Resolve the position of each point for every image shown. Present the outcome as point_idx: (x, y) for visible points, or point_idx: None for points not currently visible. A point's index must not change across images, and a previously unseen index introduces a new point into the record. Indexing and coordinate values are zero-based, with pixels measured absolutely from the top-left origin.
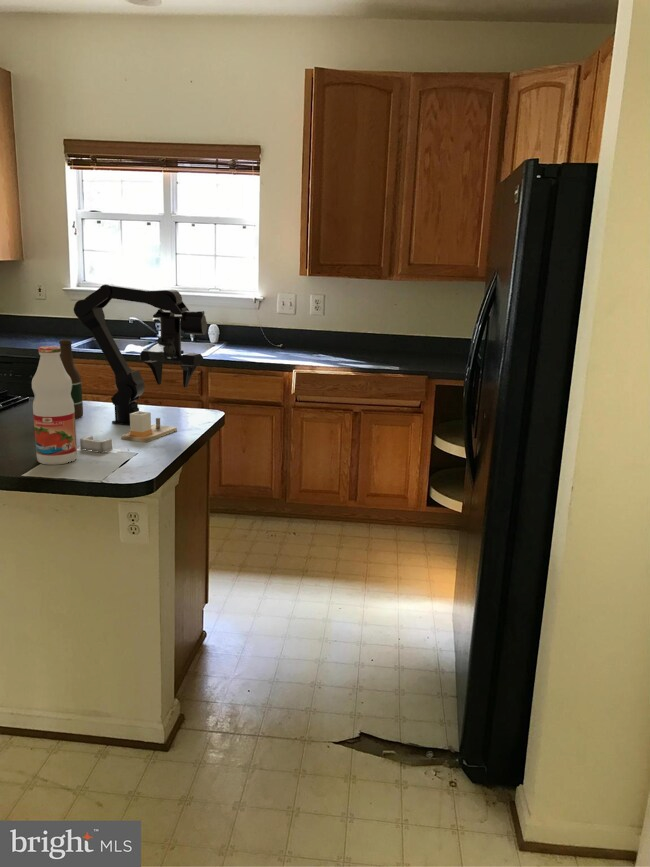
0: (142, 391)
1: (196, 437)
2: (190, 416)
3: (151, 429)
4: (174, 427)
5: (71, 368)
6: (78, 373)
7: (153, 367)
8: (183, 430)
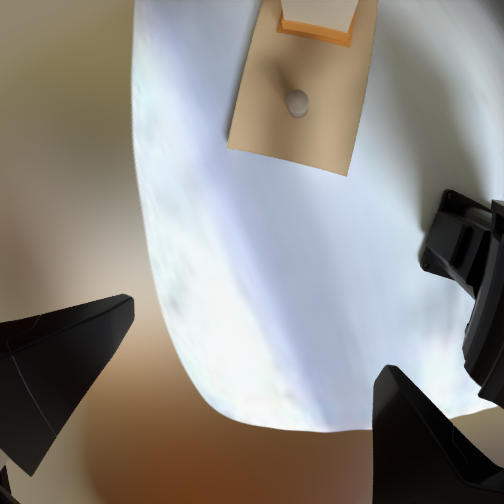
0: (470, 330)
1: (133, 91)
2: (268, 367)
3: (282, 19)
4: (235, 144)
5: None
6: None
7: (473, 477)
8: (208, 163)
